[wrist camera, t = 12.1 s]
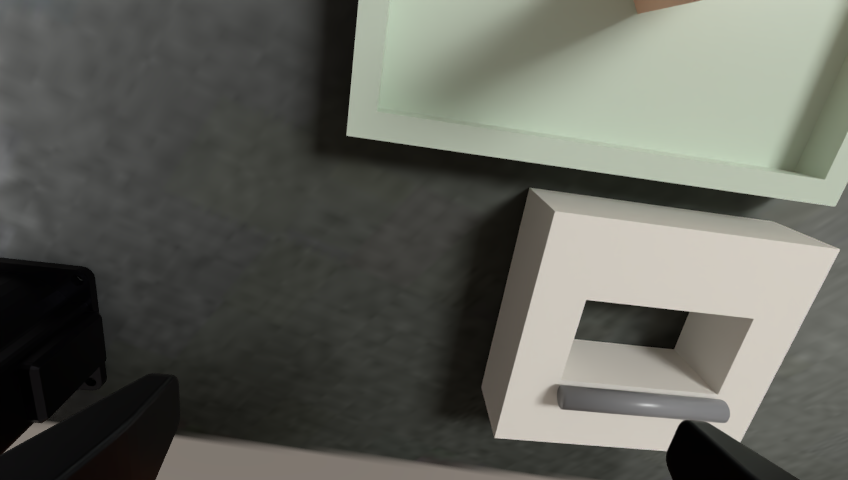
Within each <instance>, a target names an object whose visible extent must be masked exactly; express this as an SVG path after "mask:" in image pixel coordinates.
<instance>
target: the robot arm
mask: <svg viewBox="0 0 848 480" xmlns="http://www.w3.org/2000/svg"><path fill="white" fill-rule="evenodd" d="M77 276H80V277H81V278H82V279H83V281H80V280H79V279H78V277H77ZM105 361H106V351H105V343H104V334H103V325H102V317H101V315H100V314H99V308H98V300H97V291H96V283H95V277H94V274H93V273H92V271H91V270H89V269H88V268H86V267H82V266H73V265H64V264H55V263H45V262H36V261H27V260H17V259H8V258H0V480H155V479H156V477H157V475H158V472H159V470H160V468H161V465H162V463H163V461H164V458H165V456H166V454H167V451H168V449H169V447H170V444H171V442H172V440H173V437H174V435H175V433H176V430H177V428H178V424H179V420H180V401H179V383H178V379H177V377H175V376H174V375H168V374H156V373H152V374H148V375H146V376H144V377H142V378H140V379H138V380H136V381H134V382H133V383H131V384H129V385H127V386H125V387H123V388H122V389H120V390H118V391H116V392H114V393H113V394H111V395H109V396H107V397H105V398H103V399H102V400H100V401H98V402H96V403H94V404H92V405H91V406H89V407H87V408H85V409H83V410H81V411H80V412H78V413H76V414H74V415H72V416H71V417H69V418H67V419H65V420H63V421H61V422H60V423H58V424H56V425H54V426H52V427H50V428H49V429H47V430H45V431H43V432H41V433H39V434H38V435H36V436H34V437H32V438H30V439H29V440H27V441H25V442H23V443H21V444H19V445H18V446H16V447H14V448H12V449H10V450H8V451H7V452H5V451H6V450H7V449H8V448H9V447H10V446H11V445H12V444H13V443H14V442H15V441H16V440H17V439H18V438H19V437H20V436H21V435H22V434H23V433H24V432H25V431H26V430H27V429H28V428H29V427H30V426H31V425H32V424H33V423H43V422H44V421H46V420H47V419H48V418H50V417H51V416H52V415H53V414H54V413H55V412H56V410H57V409H58V408H59V407H60V406H61V405H62V404H63V403H64V402H65V401H66V400H67V399H68V398H69V397H70V396H71V395H72V394H73V393H74V392H75V391H76V390H77V389H81V390H97V389H99V388H100V387H101V386H102V385H103V384H104V383H105V382H106V379H107V376H106V368H105ZM91 378H93V379H94V380H93V379H91ZM4 452H5V453H4ZM666 463H667V467H668V470H669V472H670V475H671V477H672V480H799V479H798V478H796V477H794V476H793V475H791V474H790V473H788V472H786V471H785V470H783V469H782V468H780V467H778V466H777V465H775V464H774V463H772V462H770V461H769V460H767V459H766V458H764V457H762V456H761V455H759V454H758V453H756V452H754V451H753V450H751V449H750V448H748V447H747V446H745V445H743V444H742V443H740V442H739V441H737V440H735V439H734V438H732V437H731V436H729V435H727V434H726V433H724V432H723V431H721V430H719V429H718V428H716V427H715V426H713V425H711V424H710V423H708V422H705V421H698V420H683V421H682V422H681V423H680V424H679V425H678V427H677V430H676V432H675V434H674V436H673V439H672V441H671V443H670V445H669V448H668V450H667V453H666Z"/></svg>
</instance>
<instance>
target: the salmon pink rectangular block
mask: <svg viewBox="0 0 848 480" xmlns="http://www.w3.org/2000/svg"><path fill="white" fill-rule="evenodd" d="M696 1H701V0H634V4H635V7H636V10H637V13H638V14H640V13H645V12H649V11H654V10H659V9H663V8H668V7H673V6H677V5H682V4H687V3H692V2H696Z"/></svg>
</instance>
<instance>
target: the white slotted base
mask: <svg viewBox="0 0 848 480" xmlns="http://www.w3.org/2000/svg"><path fill="white" fill-rule="evenodd" d="M839 251H840V249H838V248H836V247H833V246H831V245H828V244H826V243H824V242H821V241H819V240H816V239H814V238H812V237H809V236H807V235H804V234H802V233H800V232H797V231H795V230H792V229H790V228H788V227H785V226H783V225H780V224H778V223H776V222H773V221H767V220H760V219H753V218H745V217H738V216H731V215H724V214H717V213H709V212H702V211H695V210H688V209H681V208H673V207H666V206H659V205H652V204H645V203H637V202H630V201H623V200H616V199H609V198H601V197H594V196H587V195H580V194H573V193H565V192H558V191H551V190H544V189H537V188H529V191H528V195H527V200H526V204H525V208H524V212H523V216H522V220H521V224H520V228H519V233H518V237H517V241H516V245H515V249H514V253H513V257H512V262H511V266H510V270H509V274H508V278H507V282H506V286H505V291H504V295H503V299H502V303H501V307H500V311H499V315H498V319H497V324H496V328H495V332H494V336H493V340H492V344H491V348H490V353H489V357H488V361H487V365H486V369H485V373H484V377H483V381H482V386H481V389H482V392H483V396H484V400H485V404H486V408H487V412H488V415H489V419H490V423H491V427H492V431H493V434H494V438H502V439H515V440H528V441H541V442H554V443H567V444H580V445H593V446H607V447H620V448H633V449H646V450H659V451H667V450H668V448H669V445H670V443H671V441H672V439H673V436H674V434H675V432H676V430H677V427H678V425H679V424H680V423H681V422H682V421H683V420H698V421H705V422H708V423H710V424H711V425H713V426H715V427H716V428H718V429H719V430H721V431H723V432H724V433H726V434H727V435H729V436H731V437H732V438H734V439H735V440H737V441H739V442H741V440H742V438H743V436H744V434H745V432H746V430H747V428H748V426H749V424H750V423H751V421H752V419H753V417H754V415H755V413H756V411H757V409H758V407H759V405H760V403H761V401H762V399H763V397H764V396H765V394H766V392H767V390H768V388H769V386H770V384H771V382H772V380H773V378H774V376H775V374H776V372H777V370H778V369H779V367H780V365H781V363H782V361H783V359H784V357H785V355H786V353H787V351H788V349H789V347H790V345H791V343H792V342H793V340H794V338H795V336H796V334H797V332H798V330H799V328H800V326H801V324H802V322H803V320H804V318H805V316H806V315H807V313H808V311H809V309H810V307H811V305H812V303H813V301H814V299H815V297H816V295H817V293H818V291H819V289H820V288H821V286H822V284H823V282H824V280H825V278H826V276H827V274H828V272H829V270H830V268H831V266H832V264H833V262H834V261H835V259H836V257H837V255H838V253H839ZM586 300H592V301H601V302H610V303H618V304H627V305H636V306H645V307H654V308H663V309H672V310H681V311H689V314H688V317H687V319H686V321H685V324H684V326H683V329H682V331H681V334H680V336H679V338H678V341H677V343H676V346H675V348H674V349H665V348H656V347H646V346H636V345H626V344H617V343H607V342H597V341H587V340H578V339H574V337H575V334H576V330H577V327H578V324H579V321H580V318H581V315H582V312H583V308H584V305H585V302H586Z"/></svg>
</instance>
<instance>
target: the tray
mask: <svg viewBox="0 0 848 480" xmlns="http://www.w3.org/2000/svg"><path fill="white" fill-rule="evenodd" d="M346 136H352V137H358V138H365V139H372V140H379V141H386V142H393V143H400V144H407V145H414V146H420V147H427V148H434V149H441V150H448V151H455V152H462V153H469V154H476V155H483V156H489V157H496V158H503V159H510V160H517V161H524V162H531V163H538V164H545V165H551V166H558V167H565V168H572V169H579V170H586V171H593V172H600V173H607V174H614V175H620V176H627V177H634V178H641V179H648V180H655V181H662V182H669V183H676V184H682V185H689V186H696V187H703V188H710V189H717V190H724V191H731V192H738V193H744V194H751V195H758V196H765V197H772V198H779V199H786V200H793V201H800V202H807V203H813V204H820V205H827V206H834V207H835V206H836V204H837V202H838V200H839V198H840V196H841V194H842V192H843V190H844V188H845V186H846V184H847V182H848V0H701V1H696V2H692V3H687V4H682V5H677V6H673V7H668V8H663V9H659V10H654V11H649V12H645V13H640V14H638V13H637V10H636V7H635V4H634V0H359V1H358V12H357V23H356V34H355V45H354V56H353V67H352V78H351V90H350V101H349V112H348V123H347V134H346Z"/></svg>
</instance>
